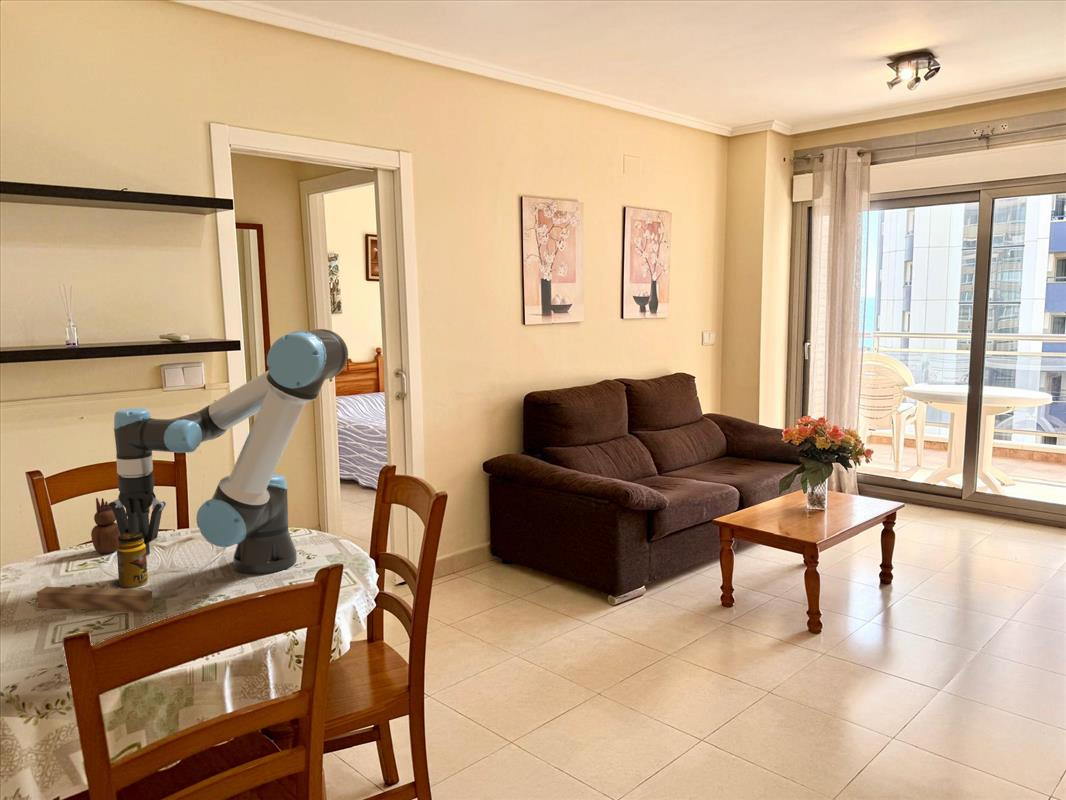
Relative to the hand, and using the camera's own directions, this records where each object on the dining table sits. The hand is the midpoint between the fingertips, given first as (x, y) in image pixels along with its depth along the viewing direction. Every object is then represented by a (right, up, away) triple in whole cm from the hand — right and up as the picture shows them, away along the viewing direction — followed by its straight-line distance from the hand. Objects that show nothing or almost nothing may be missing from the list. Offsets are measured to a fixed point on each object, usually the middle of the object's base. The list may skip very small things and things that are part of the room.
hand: (141, 568), depth 181 cm
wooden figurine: (-17, +1, +16) cm, 23 cm away
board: (-1, -4, -17) cm, 18 cm away
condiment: (0, -3, -5) cm, 6 cm away
